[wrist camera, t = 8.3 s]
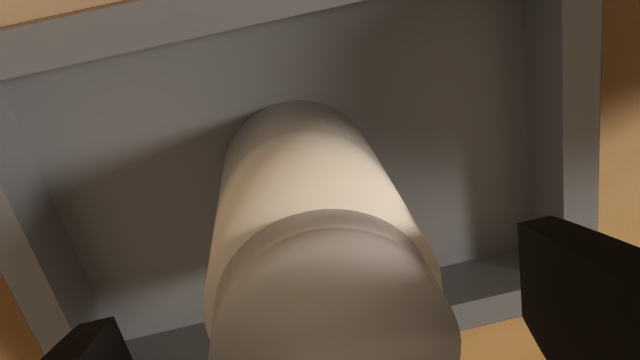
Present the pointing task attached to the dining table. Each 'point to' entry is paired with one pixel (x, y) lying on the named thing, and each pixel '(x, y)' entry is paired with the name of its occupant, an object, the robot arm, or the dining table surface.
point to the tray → (253, 96)
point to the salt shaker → (319, 250)
